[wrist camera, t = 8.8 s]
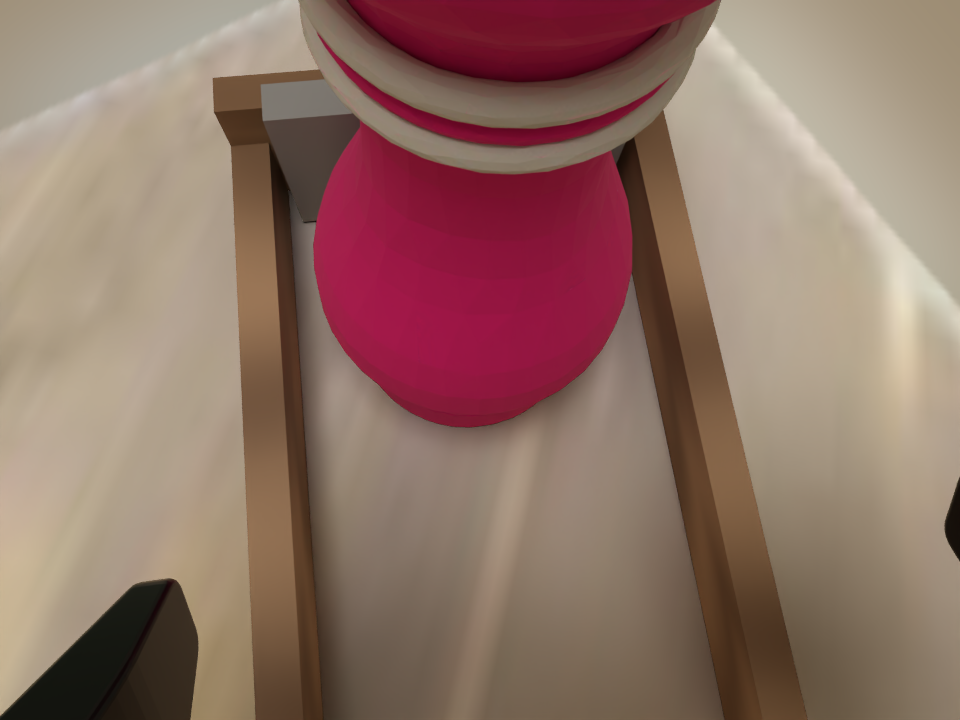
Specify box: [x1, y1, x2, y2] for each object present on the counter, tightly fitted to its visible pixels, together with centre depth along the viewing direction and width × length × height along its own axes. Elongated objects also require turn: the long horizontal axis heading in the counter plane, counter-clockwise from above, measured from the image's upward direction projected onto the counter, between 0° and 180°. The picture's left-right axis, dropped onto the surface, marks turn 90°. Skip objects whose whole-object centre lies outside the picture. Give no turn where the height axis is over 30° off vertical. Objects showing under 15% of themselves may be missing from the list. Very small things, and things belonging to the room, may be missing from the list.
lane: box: [213, 70, 807, 720], centre depth 18 cm, size 18×12×4 cm
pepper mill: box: [298, 0, 721, 427], centre depth 11 cm, size 7×7×20 cm
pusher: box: [261, 79, 625, 222], centre depth 19 cm, size 1×9×5 cm, turn 98°
